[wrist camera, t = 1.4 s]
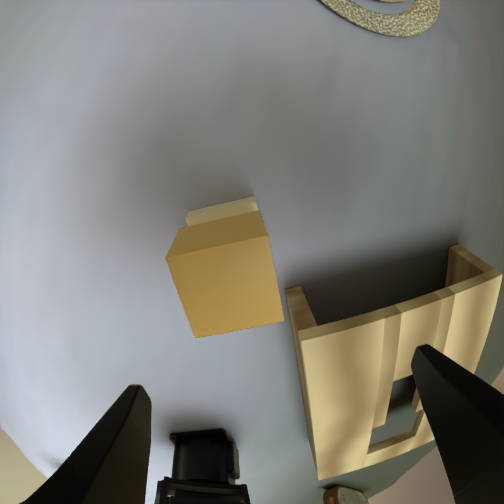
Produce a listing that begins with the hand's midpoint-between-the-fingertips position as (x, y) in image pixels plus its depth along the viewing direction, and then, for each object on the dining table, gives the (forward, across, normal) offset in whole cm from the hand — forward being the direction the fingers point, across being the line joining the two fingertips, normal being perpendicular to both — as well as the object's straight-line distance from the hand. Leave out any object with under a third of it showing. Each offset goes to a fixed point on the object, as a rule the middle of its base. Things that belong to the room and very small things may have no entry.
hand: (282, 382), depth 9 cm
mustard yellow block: (+13, +2, +1) cm, 13 cm away
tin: (+9, -10, +52) cm, 54 cm away
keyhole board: (+12, -10, +16) cm, 22 cm away
